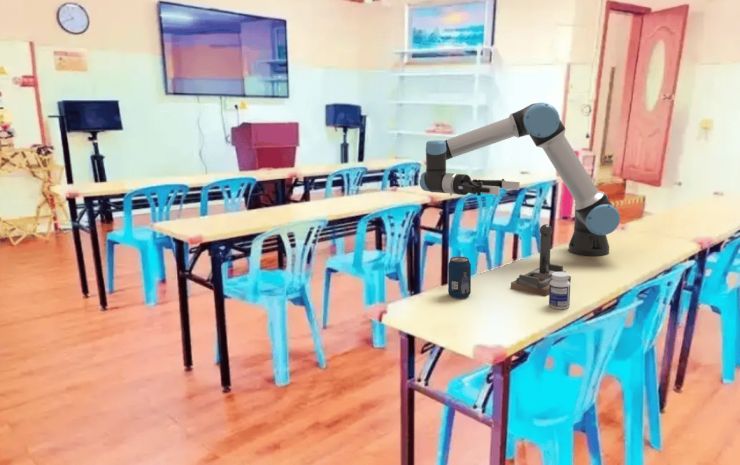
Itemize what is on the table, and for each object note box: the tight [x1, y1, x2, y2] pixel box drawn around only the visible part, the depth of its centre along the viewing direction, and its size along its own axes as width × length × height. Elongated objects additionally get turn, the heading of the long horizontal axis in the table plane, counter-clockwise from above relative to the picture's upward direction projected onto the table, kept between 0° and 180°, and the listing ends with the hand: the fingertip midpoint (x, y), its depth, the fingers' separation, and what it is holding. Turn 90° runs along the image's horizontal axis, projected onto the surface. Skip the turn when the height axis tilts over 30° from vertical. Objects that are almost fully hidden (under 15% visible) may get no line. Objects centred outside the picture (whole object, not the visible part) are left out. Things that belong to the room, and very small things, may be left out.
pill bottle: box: [548, 272, 571, 310], centre depth 162 cm, size 6×6×10 cm
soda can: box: [447, 256, 472, 300], centre depth 173 cm, size 7×7×12 cm
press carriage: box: [533, 223, 556, 280], centre depth 181 cm, size 5×6×18 cm
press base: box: [510, 263, 572, 297], centre depth 182 cm, size 18×13×5 cm
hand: (509, 188), depth 190 cm, fingers open, 13 cm apart
